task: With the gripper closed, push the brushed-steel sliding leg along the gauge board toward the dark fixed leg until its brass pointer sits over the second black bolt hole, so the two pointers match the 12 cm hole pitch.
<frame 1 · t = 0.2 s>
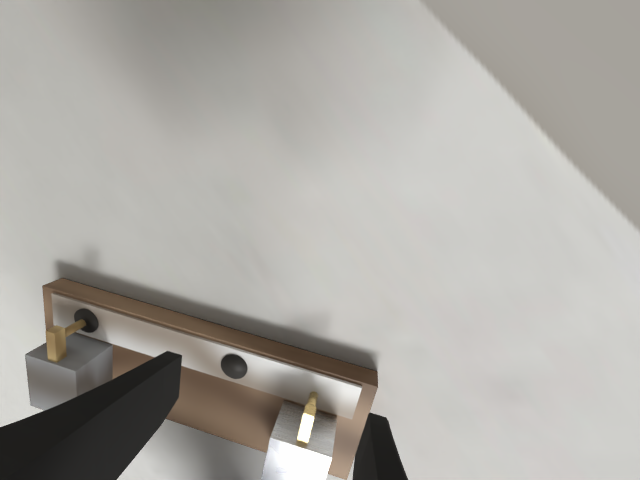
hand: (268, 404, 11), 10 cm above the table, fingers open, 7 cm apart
sliding leg: (302, 438, 20), point 3 cm above the table, slide at 0.0 cm
gauge board: (204, 369, 24), on the table
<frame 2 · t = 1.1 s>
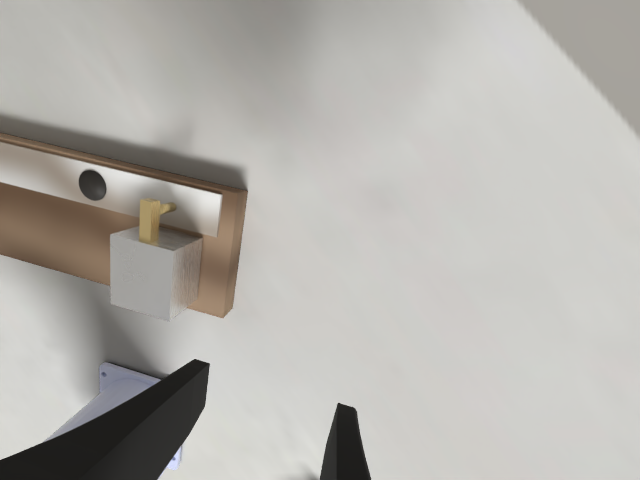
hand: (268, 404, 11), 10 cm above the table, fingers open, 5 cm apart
sliding leg: (158, 252, 19), point 3 cm above the table, slide at 0.0 cm
gauge board: (79, 211, 22), on the table
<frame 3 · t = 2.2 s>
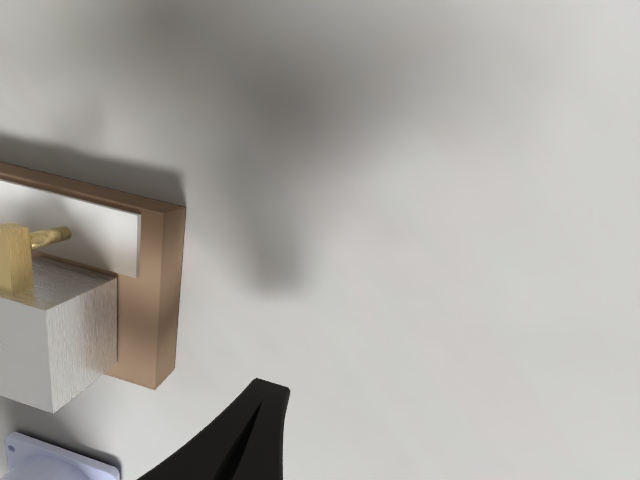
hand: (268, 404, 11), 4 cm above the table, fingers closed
sliding leg: (43, 303, 12), point 3 cm above the table, slide at 0.0 cm
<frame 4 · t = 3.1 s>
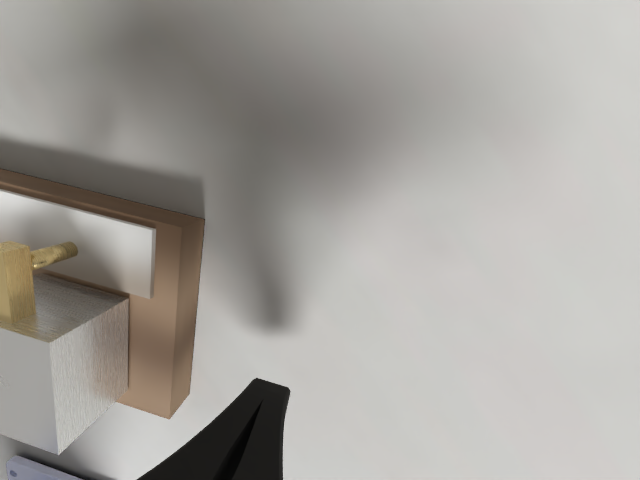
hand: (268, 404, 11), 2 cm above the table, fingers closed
sliding leg: (46, 328, 11), point 3 cm above the table, slide at 0.0 cm
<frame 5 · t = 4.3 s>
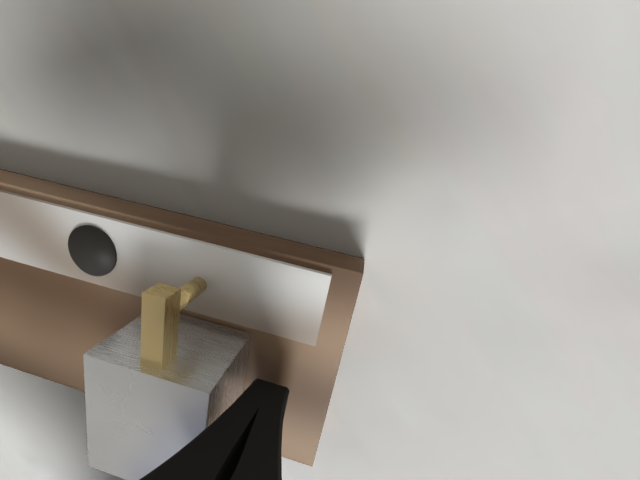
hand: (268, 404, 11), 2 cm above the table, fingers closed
sliding leg: (175, 369, 10), point 3 cm above the table, slide at 1.5 cm, touching gripper
gauge board: (71, 279, 14), on the table
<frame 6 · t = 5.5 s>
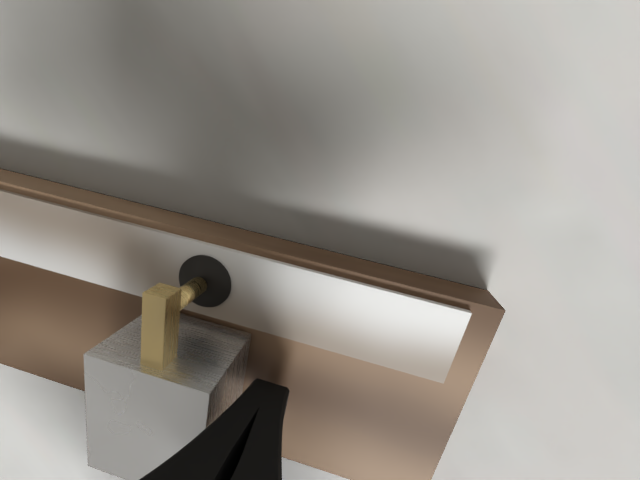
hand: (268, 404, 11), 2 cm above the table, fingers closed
sliding leg: (175, 369, 10), point 3 cm above the table, slide at 6.0 cm, touching gripper
gauge board: (159, 304, 13), on the table
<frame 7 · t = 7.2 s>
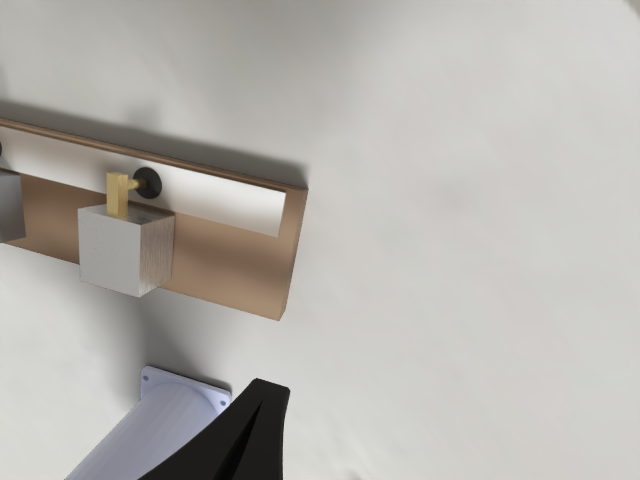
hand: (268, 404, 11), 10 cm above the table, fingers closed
sliding leg: (129, 229, 18), point 3 cm above the table, slide at 6.1 cm
gauge board: (126, 210, 22), on the table
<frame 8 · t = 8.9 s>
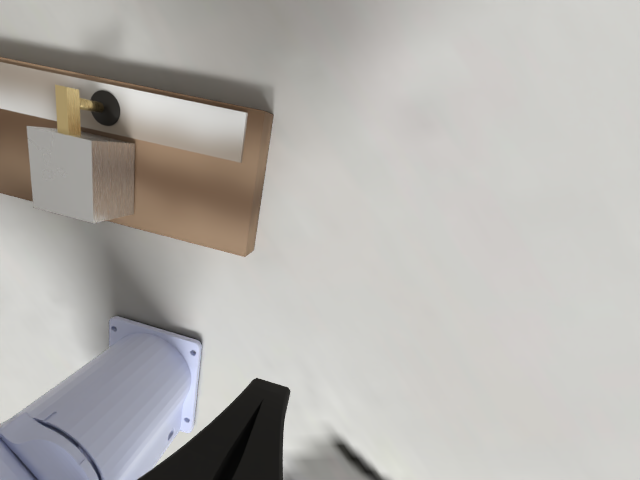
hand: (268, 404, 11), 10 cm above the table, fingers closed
sliding leg: (85, 154, 18), point 3 cm above the table, slide at 6.1 cm
gauge board: (89, 146, 21), on the table
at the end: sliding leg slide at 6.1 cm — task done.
